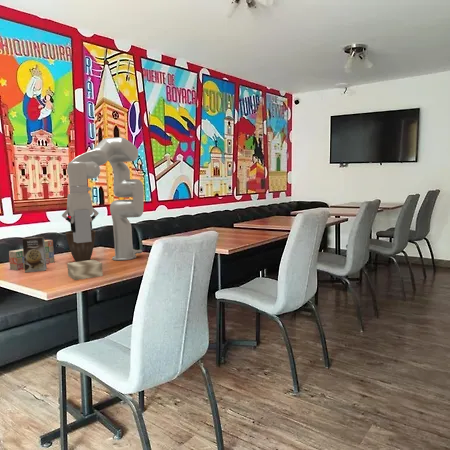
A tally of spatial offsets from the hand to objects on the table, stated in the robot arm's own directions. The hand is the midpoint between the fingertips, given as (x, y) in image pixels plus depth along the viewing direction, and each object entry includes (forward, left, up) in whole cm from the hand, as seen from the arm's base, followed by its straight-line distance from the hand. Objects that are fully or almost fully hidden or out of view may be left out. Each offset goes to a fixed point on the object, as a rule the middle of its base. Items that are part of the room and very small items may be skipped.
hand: (81, 231), depth 183 cm
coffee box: (+16, -30, -20) cm, 40 cm away
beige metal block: (0, 0, -20) cm, 20 cm away
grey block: (0, 0, -5) cm, 5 cm away
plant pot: (-8, -38, -20) cm, 44 cm away
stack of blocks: (+15, -45, -20) cm, 52 cm away
